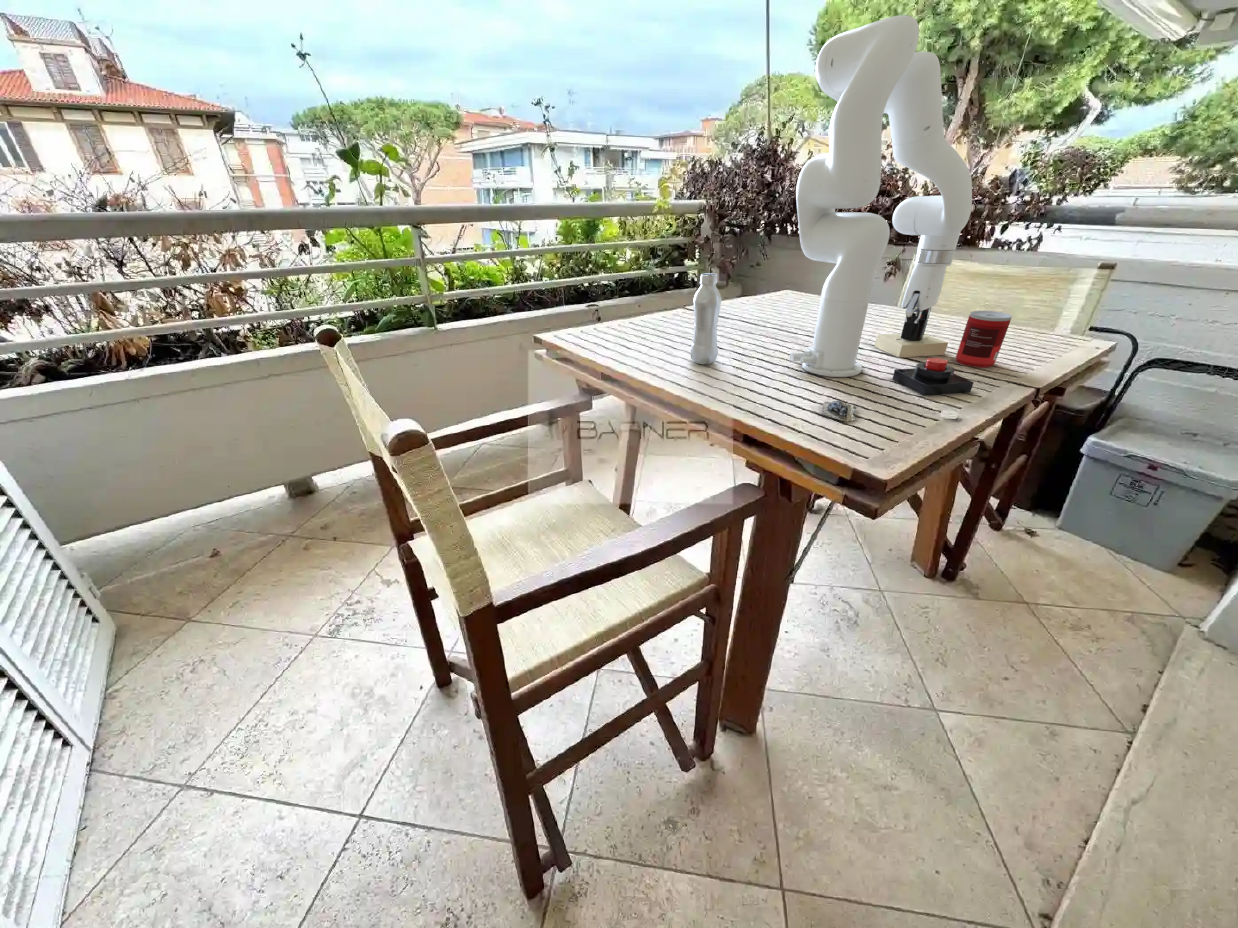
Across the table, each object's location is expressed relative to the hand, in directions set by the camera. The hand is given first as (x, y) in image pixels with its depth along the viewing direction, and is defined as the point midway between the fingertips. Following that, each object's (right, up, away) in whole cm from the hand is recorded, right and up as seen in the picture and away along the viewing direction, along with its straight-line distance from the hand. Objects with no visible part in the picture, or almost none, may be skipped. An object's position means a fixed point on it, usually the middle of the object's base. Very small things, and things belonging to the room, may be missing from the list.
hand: (912, 336), depth 119 cm
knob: (0, 0, 0) cm, 1 cm away
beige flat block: (0, -3, +2) cm, 4 cm away
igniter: (-9, -16, -20) cm, 27 cm away
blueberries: (-32, -23, -31) cm, 50 cm away
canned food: (+10, -8, -8) cm, 15 cm away
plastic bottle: (-52, -7, -3) cm, 53 cm away
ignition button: (-9, -12, -22) cm, 27 cm away
